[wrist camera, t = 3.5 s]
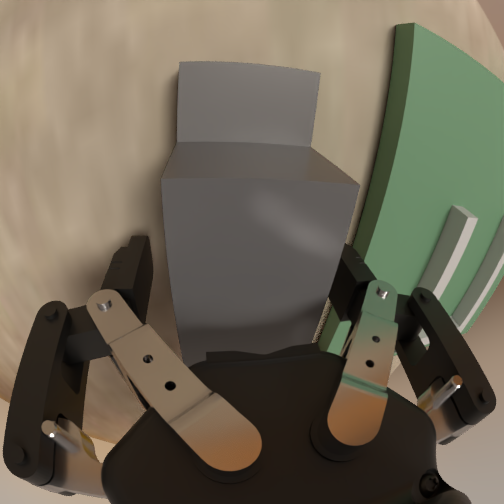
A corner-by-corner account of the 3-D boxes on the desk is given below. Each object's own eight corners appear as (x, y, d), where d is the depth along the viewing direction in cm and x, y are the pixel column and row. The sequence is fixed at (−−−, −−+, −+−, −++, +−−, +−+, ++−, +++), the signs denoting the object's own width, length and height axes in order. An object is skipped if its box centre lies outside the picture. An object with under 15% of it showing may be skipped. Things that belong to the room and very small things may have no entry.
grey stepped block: (270, 301, 17) (293, 385, 13) (188, 304, 17) (189, 393, 12) (303, 73, 10) (380, 76, 5) (184, 65, 9) (161, 49, 4)
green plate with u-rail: (311, 357, 22) (321, 387, 20) (396, 24, 9) (436, 21, 6) (460, 323, 25) (473, 341, 23) (542, 128, 12) (565, 140, 10)
